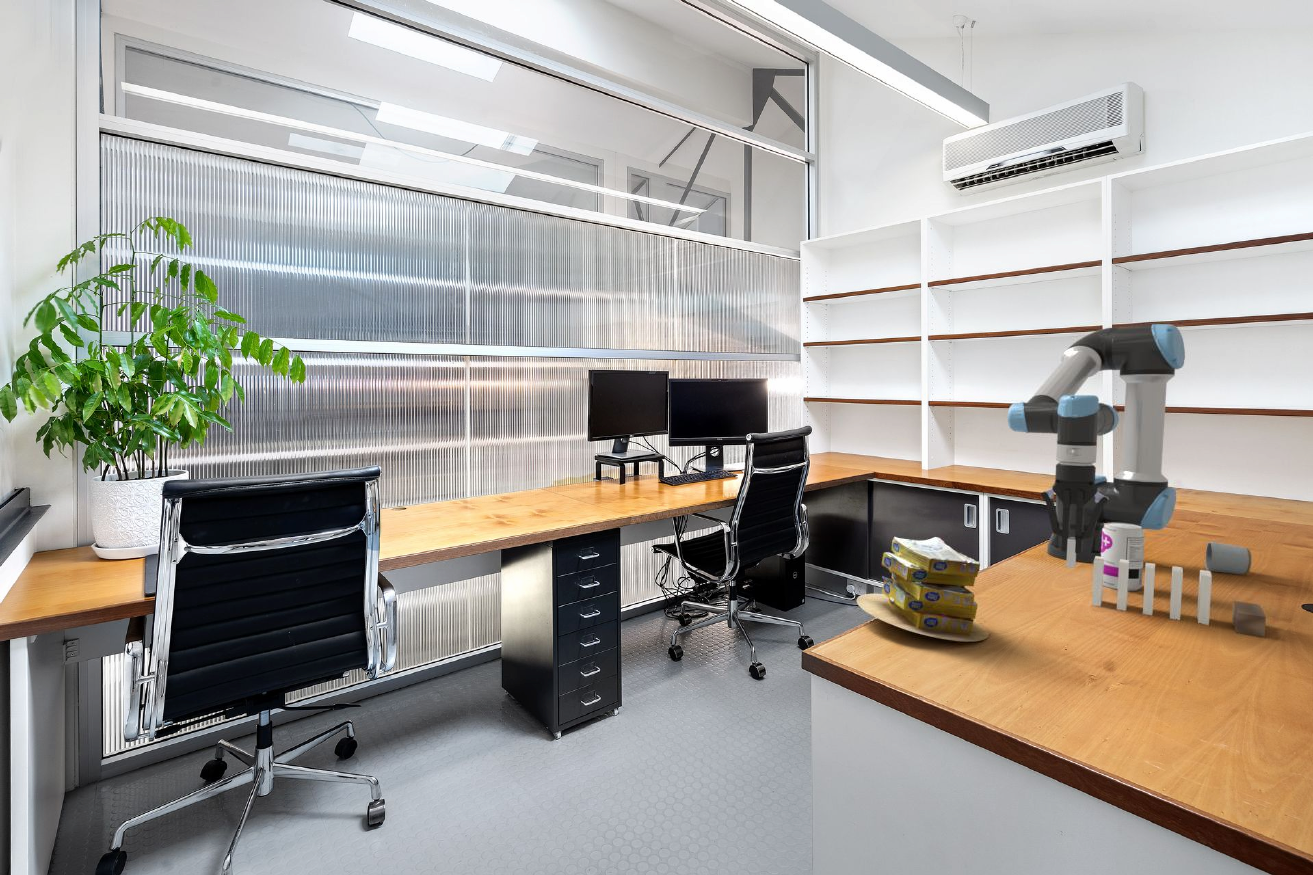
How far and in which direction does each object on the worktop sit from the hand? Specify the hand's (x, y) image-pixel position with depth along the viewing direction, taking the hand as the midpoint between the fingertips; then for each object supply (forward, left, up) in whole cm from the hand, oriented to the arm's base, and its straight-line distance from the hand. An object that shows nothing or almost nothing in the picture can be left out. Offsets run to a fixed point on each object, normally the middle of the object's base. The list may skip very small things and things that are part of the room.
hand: (1070, 566), depth 145 cm
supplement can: (+9, +18, -8) cm, 21 cm away
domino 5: (+23, 0, -7) cm, 24 cm away
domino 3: (+14, 0, -7) cm, 16 cm away
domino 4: (+19, 0, -7) cm, 20 cm away
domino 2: (+10, 0, -7) cm, 12 cm away
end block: (+30, 0, -7) cm, 31 cm away
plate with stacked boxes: (-22, -38, -8) cm, 45 cm away
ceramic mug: (+30, +52, -8) cm, 60 cm away
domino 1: (+5, 0, -7) cm, 9 cm away
